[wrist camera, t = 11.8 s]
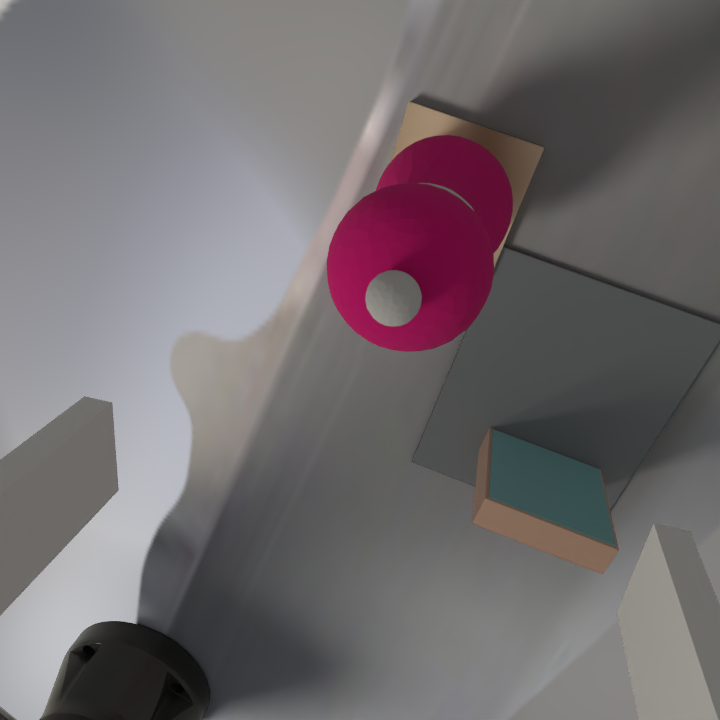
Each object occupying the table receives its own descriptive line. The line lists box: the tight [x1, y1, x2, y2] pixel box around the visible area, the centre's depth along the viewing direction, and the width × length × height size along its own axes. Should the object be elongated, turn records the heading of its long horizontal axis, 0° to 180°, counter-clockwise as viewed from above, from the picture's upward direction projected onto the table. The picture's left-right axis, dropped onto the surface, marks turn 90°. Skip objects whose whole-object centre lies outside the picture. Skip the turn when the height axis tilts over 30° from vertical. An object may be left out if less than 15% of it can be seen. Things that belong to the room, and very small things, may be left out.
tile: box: [472, 428, 619, 574], centre depth 39 cm, size 8×2×8 cm, turn 73°
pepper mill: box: [327, 135, 513, 352], centre depth 27 cm, size 7×7×20 cm
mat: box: [412, 246, 720, 509], centre depth 41 cm, size 14×17×1 cm
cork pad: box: [391, 101, 544, 267], centre depth 37 cm, size 8×8×1 cm
